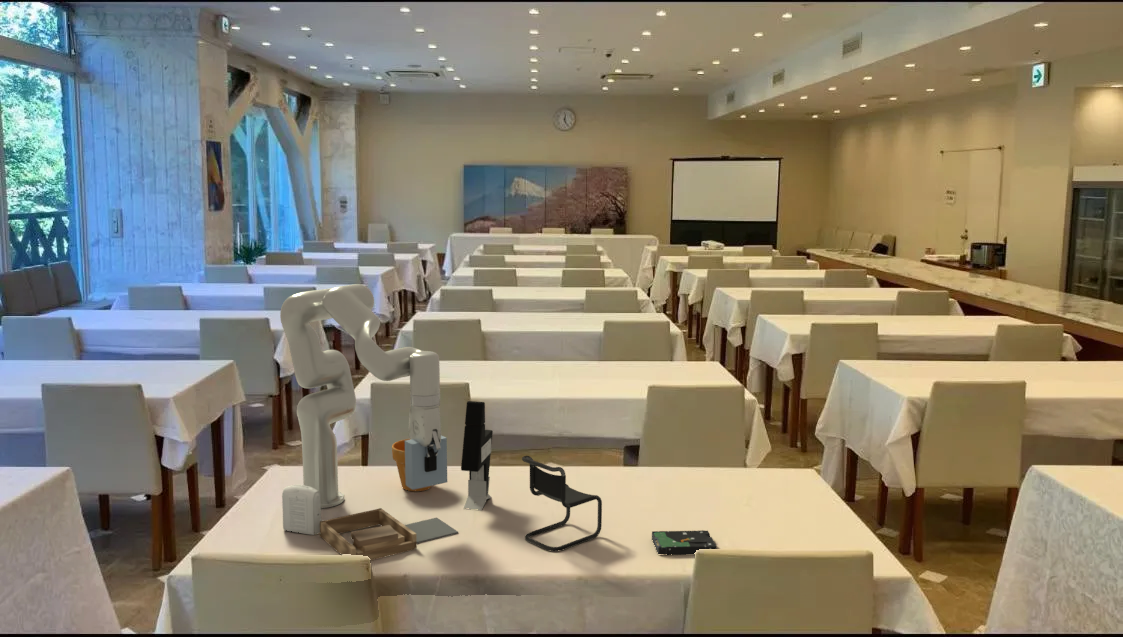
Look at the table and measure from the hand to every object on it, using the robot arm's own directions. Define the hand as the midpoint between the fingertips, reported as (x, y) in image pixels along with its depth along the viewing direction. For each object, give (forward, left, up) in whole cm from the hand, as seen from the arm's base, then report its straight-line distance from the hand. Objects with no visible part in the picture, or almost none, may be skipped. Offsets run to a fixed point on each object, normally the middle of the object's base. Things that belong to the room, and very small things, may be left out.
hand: (426, 467), depth 241 cm
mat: (0, 0, -17) cm, 17 cm away
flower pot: (-32, +13, -17) cm, 39 cm away
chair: (+23, +27, -17) cm, 39 cm away
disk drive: (+45, +49, -18) cm, 69 cm away
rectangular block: (0, 0, -4) cm, 4 cm away
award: (-10, +21, -17) cm, 29 cm away
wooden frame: (-2, -16, -17) cm, 24 cm away
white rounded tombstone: (-18, -27, -17) cm, 37 cm away
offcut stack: (+4, -16, -17) cm, 24 cm away
